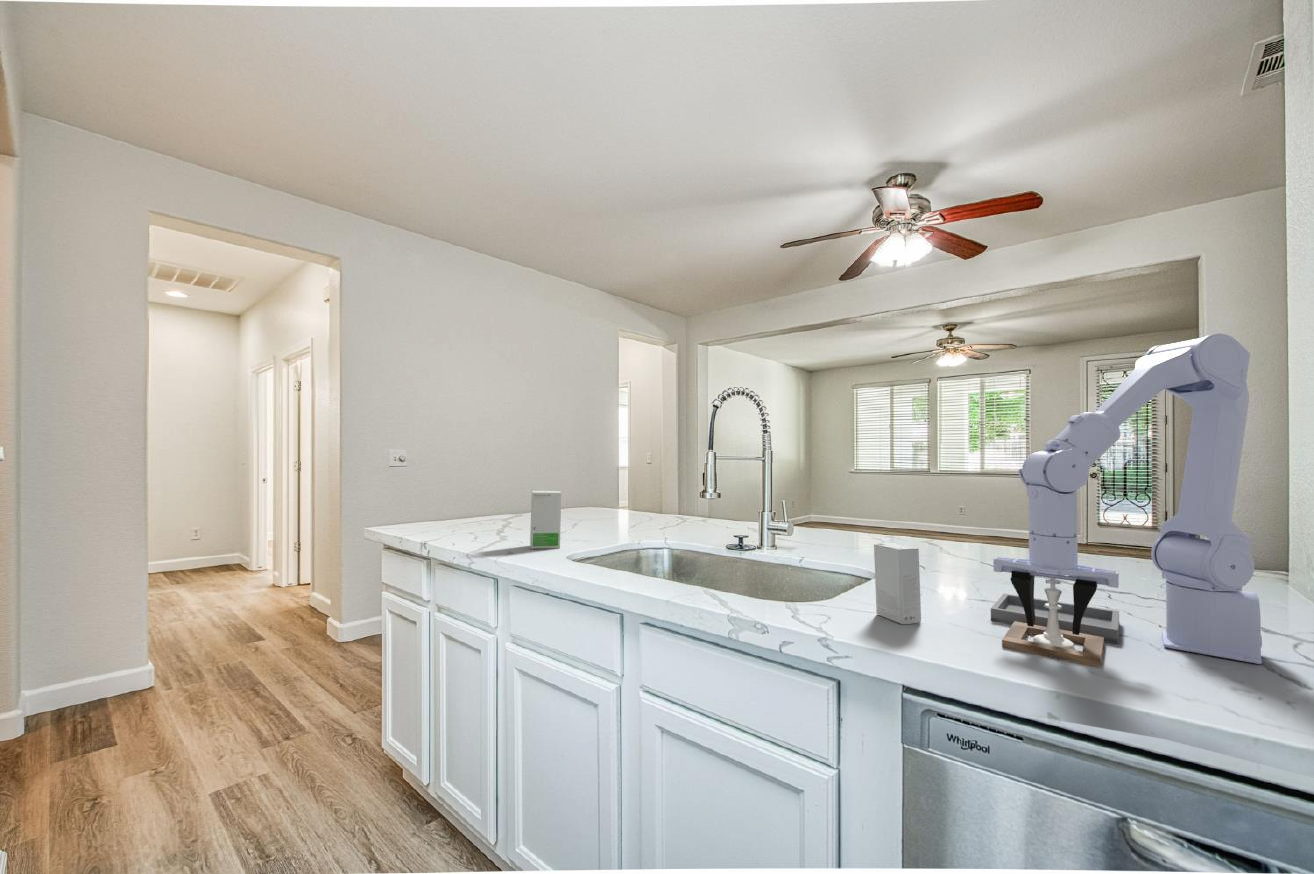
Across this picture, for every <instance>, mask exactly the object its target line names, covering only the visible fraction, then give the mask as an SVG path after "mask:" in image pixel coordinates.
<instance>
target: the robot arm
mask: <svg viewBox="0 0 1314 874" xmlns="http://www.w3.org/2000/svg"><path fill="white" fill-rule="evenodd" d="M1250 357H1251V352H1249V351H1248V350H1247V349H1246V348H1245V347H1244V346H1243V345H1242V343H1240V342H1239V341H1238V340H1237V339H1236V338H1235V337H1233V336H1231V335H1228V334H1226V333H1213V334H1208V335H1206V336H1203V337H1199V338H1192V339H1189V340H1184V341H1178V342H1174V343H1168V344H1158V345H1154V346H1152V347H1150V349H1148V351H1146V353H1145V354H1144V356H1142V357H1139V359H1137V360H1136V361H1135V364H1134V369H1133V370H1132V371H1131V372H1130V373H1129V375H1128V376H1127V377H1126V378H1125V379H1124V380H1123V381H1122V382H1121V383H1120V384H1119V385H1118V386H1117V388H1115V389H1114V391H1113V392H1112V393H1111V394H1110V395H1109V396H1108V397H1107V398H1106V400H1105V401H1104V402H1102V403H1101V404H1100V406H1099V407H1098V408H1097V409H1096V411H1095V412H1094V411H1087V412H1086V411H1085V412H1081V413H1080V414H1078V415H1077V414H1076V415H1071V417H1070V418H1069V419H1067V423H1068V424H1067V426H1066V427H1065V428H1064V429H1062V431H1060V433H1059V434H1057V435H1056V436H1055V437H1054V438H1053V439H1051V440H1050V439H1049V440H1047V441H1046V442H1045V443H1044V448H1043V450H1041V451H1035V452H1032V453H1031V454H1029V455H1028V456H1027V457H1026V458H1025V460H1024V462H1023V464H1022V466H1021V467H1022V468H1019V469H1018V475H1019V476H1018V477H1019V478H1020V481H1021V482H1022V484H1023V485H1024V486H1025V488H1026V497H1028V559H1026V558H1025V559H1024V558H1014V557H1013V558H1009V557H1000V556H996V557H994V558H993V572H994V573H995V572H996V573H1010V574H1011V576H1010V582H1011V585H1012V586H1013V588H1014V590H1015V591H1016V593H1017V596H1019V598H1020V600H1021V603H1022V605H1023V608H1024V611H1025V615H1026V619H1027V626H1031V627H1033V626H1034V624H1035V609H1034V598H1035V577H1040V578H1041V577H1042V578H1048V579H1050V578H1054V579H1055V580H1056V579H1057V580H1063V581H1070V582H1074V583H1073V586H1072V590H1073V591H1072V592H1073V593H1072V595H1073V604H1074V617H1073V627H1072V629H1073V634H1075V635H1079V633H1080V626H1081V620H1082V617H1083V615H1084V612H1085V610H1086V608H1087V606H1089V603H1090V602H1091V600H1092V598H1093V597H1094V595H1095V594H1096V591H1097V589H1098V585H1100V586H1101V585H1102V586H1107V587H1110V588H1116V589H1118V588H1119V586H1120V585H1119V583H1120V581H1119V571H1118V570H1111V569H1103V568H1097V567H1092V566H1087V565H1085V566H1084V565H1079V564H1078V563H1079V562H1078V561H1079V560H1078V557H1079V555H1078V554H1079V553H1078V543H1079V542H1078V490H1079V489H1080V488H1082V487H1084V486H1086V484H1087V482H1088V480H1089V477H1090V469H1091V468H1092V467H1093V465H1094V463H1095V462H1096V461H1098V459H1100V458H1101V457H1102V456H1103V455H1104V454H1105V453H1106V452H1107V451H1108V450H1109V449H1110V448H1111V447H1112V446H1114V444H1116V442H1118V440H1119V439H1121V431H1120V426H1121V425H1122V424H1124V423H1125V421H1127V420H1128V419H1130V418H1131V417H1132V416H1133V415H1134V414H1136V413H1137V412H1138V411H1139V410H1141V408H1143V407H1144V406H1145V405H1147V404H1148V403H1149V402H1150V401H1151V400H1153V399H1154V397H1156V396H1157V395H1158V394H1159V393H1161V392H1162V391H1163V390H1164V391H1166V392H1167V393H1169V394H1171V395H1173V396H1174V397H1177V398H1179V399H1181V400H1182V401H1183V400H1184V401H1185V403H1186V404H1188V405H1189V406H1190V407H1191V408H1192V415H1191V423H1190V429H1189V435H1188V436H1189V437H1188V442H1187V443H1188V444H1187V449H1186V458H1185V463H1184V470H1183V471H1184V472H1183V476H1182V477H1183V478H1182V485H1181V492H1180V499H1179V506H1178V513H1176V514H1175V515H1174V516H1172V517H1171V518H1169V519H1167V520H1166V521H1164V522H1163V523H1161V526H1160V533H1159V535H1158V537H1157V539H1155V541H1154V542H1153V544H1152V547H1151V550H1150V551H1151V552H1150V556H1151V561H1152V563H1153V564H1154V566H1155V567H1156V569H1158V570H1159V571H1160V572H1161V579H1164V580H1165V603H1166V604H1165V612H1166V613H1165V618H1166V619H1165V624H1166V626H1165V627H1166V628H1165V629H1166V630H1161V637H1162V642H1163V647H1165V648H1167V649H1173V650H1179V651H1184V652H1191V653H1196V654H1200V655H1206V656H1207V655H1208V656H1213V657H1218V658H1223V659H1230V660H1235V661H1241V662H1245V663H1251V664H1252V663H1253V664H1258V665H1262V664H1263V660H1262V648H1263V639H1262V634H1261V632H1262V629H1261V626H1262V625H1261V621H1262V620H1261V606H1260V600H1259V599H1260V598H1259V596H1258V593H1256V592H1255V591H1249V590H1243V587H1245V586H1246V585H1247V584H1248V583H1249V582H1250V581H1251V579H1252V578H1253V575H1254V572H1255V562H1254V559H1253V556H1252V552H1251V543H1252V539H1251V537H1250V536H1249V535H1248V534H1247V533H1246V532H1244V531H1243V530H1242V529H1241V528H1240V527H1239V526H1238V525H1236V524H1235V523H1234V522H1233V521H1232V520H1233V514H1234V508H1235V500H1236V494H1237V493H1236V492H1237V485H1238V480H1239V479H1238V478H1239V471H1240V466H1241V459H1242V451H1243V444H1244V437H1245V431H1246V424H1247V418H1248V410H1249V403H1250V393H1249V388H1248V384H1247V379H1248V377H1247V376H1248V370H1249V364H1250ZM1199 536H1203V537H1206V538H1207V539H1204V538H1201V537H1200V538H1199Z"/></svg>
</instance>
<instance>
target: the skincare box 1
mask: <svg viewBox="0 0 1314 874" xmlns="http://www.w3.org/2000/svg"><path fill="white" fill-rule="evenodd" d="M530 500H531V501H530V505H531V506H530V507H531V508H530V529H529V530H530V532H529V533H530V535H529V536H530V537H529V538H530V539H529V541H530V542H529V544H530V545H529V546H530V549H531V550H533V549H535V550H536V549H560V548H561V524H562V523H561V516H562V492H561V491H559V490H558V491H557V490H531V499H530Z"/></svg>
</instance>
